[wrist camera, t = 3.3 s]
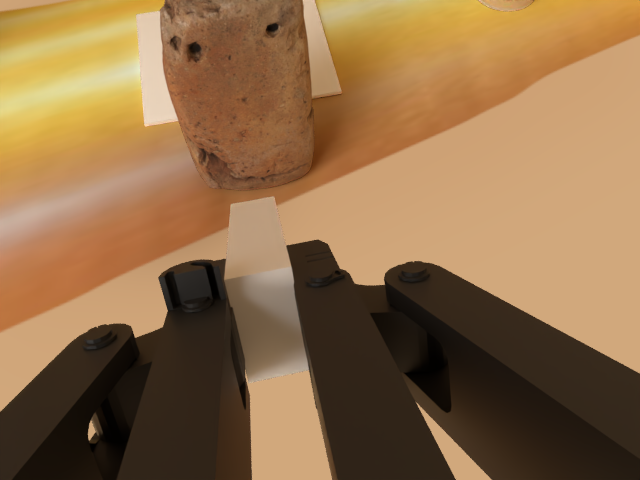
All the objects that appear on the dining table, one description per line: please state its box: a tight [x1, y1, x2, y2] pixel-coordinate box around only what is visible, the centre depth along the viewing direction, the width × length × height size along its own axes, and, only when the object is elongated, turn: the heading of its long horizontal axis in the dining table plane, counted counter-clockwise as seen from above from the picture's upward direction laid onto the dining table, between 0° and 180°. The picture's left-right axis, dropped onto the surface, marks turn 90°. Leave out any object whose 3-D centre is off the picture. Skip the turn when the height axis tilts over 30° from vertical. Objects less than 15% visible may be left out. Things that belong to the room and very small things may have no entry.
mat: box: [136, 0, 342, 126], centre depth 53 cm, size 20×16×1 cm
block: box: [160, 0, 314, 190], centre depth 39 cm, size 11×8×20 cm
